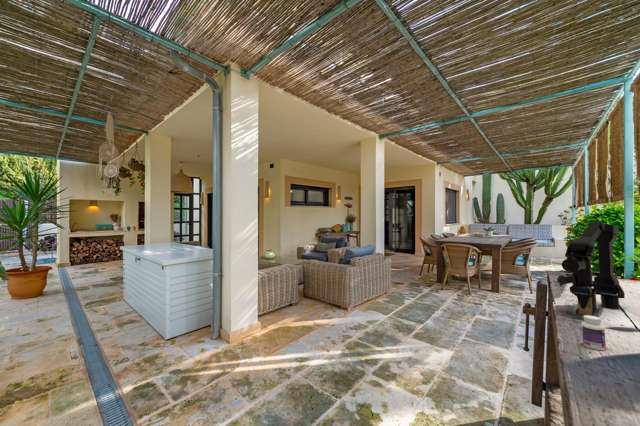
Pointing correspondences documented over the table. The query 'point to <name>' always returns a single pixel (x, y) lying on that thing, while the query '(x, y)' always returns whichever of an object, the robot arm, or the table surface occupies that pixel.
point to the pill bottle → (593, 333)
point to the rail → (595, 313)
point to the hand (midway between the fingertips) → (585, 306)
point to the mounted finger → (594, 302)
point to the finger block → (586, 309)
